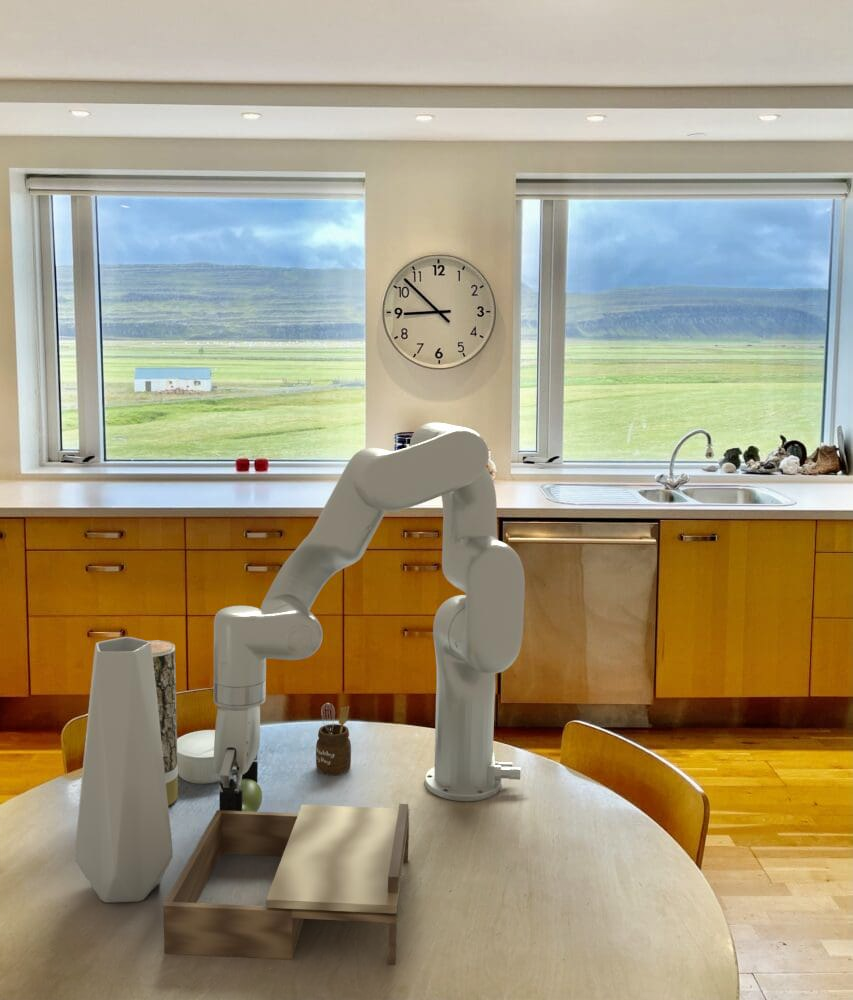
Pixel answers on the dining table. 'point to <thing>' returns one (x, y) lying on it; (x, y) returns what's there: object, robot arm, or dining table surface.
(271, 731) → the dining table surface
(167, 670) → the paper tube
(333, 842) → the lid
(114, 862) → the vase
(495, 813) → the dining table surface
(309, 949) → the dining table surface
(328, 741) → the utensil holder
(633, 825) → the dining table surface
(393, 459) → the robot arm
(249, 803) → the pear
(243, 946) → the wooden box
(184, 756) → the ramekin
